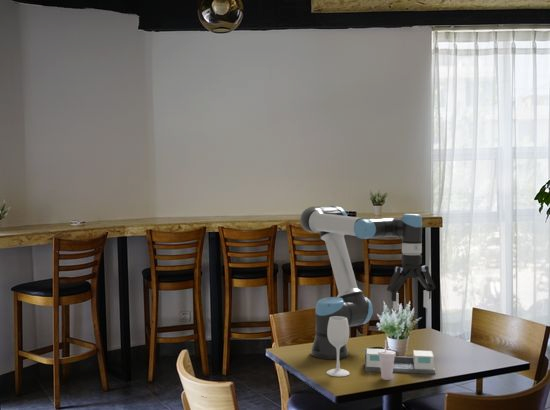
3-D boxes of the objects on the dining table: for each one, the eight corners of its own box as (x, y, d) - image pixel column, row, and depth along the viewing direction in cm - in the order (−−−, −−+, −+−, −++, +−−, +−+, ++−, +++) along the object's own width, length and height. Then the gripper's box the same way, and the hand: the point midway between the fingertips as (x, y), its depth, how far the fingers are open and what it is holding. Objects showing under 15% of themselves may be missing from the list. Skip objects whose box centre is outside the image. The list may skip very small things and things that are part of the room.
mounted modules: (366, 366, 242) (366, 353, 242) (366, 360, 250) (366, 348, 250) (433, 369, 238) (433, 356, 238) (431, 363, 246) (431, 351, 246)
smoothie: (384, 374, 237) (384, 337, 237) (399, 378, 233) (399, 340, 232) (374, 378, 233) (374, 340, 232) (388, 382, 228) (389, 343, 228)
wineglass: (353, 375, 236) (353, 319, 235) (331, 377, 233) (331, 321, 233) (344, 369, 244) (344, 315, 243) (323, 371, 241) (323, 316, 241)
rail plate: (365, 370, 242) (365, 361, 242) (365, 363, 252) (365, 354, 252) (435, 374, 238) (435, 364, 238) (432, 366, 248) (432, 357, 248)
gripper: (388, 256, 237) (387, 312, 238) (444, 253, 246) (444, 308, 247) (378, 254, 244) (377, 308, 245) (433, 251, 253) (433, 304, 254)
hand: (411, 308), depth 246 cm, fingers open, 13 cm apart
